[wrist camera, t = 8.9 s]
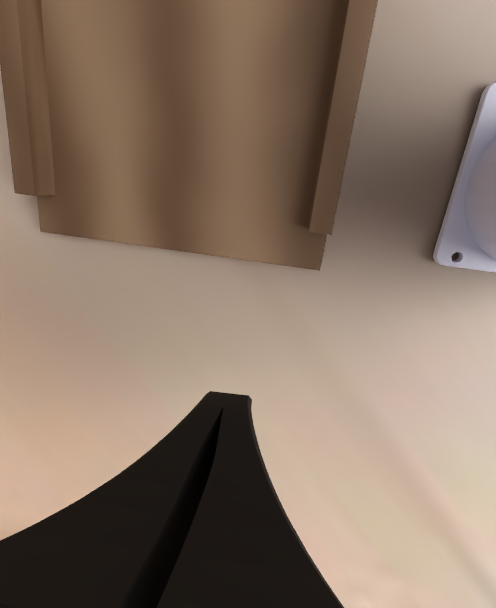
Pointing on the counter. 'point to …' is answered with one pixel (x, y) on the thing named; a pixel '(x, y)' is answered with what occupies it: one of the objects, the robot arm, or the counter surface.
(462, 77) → the counter surface
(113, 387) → the counter surface
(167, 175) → the track
